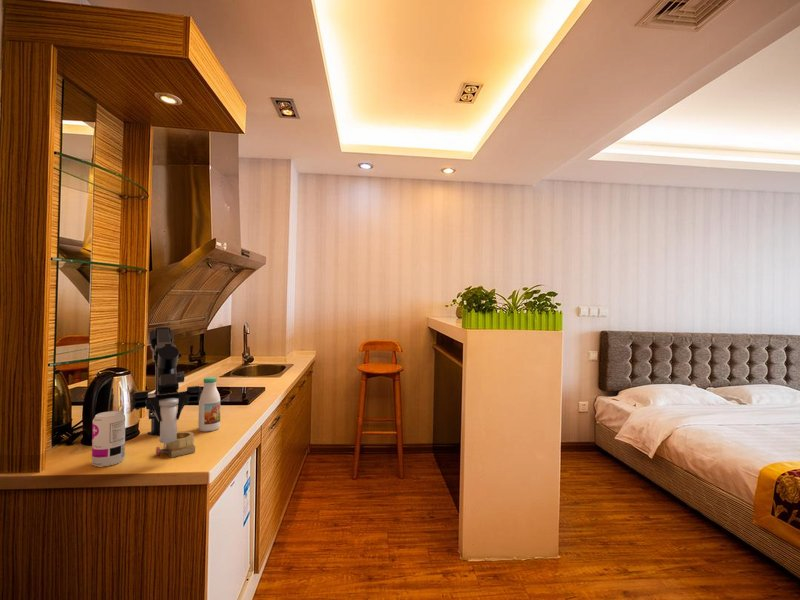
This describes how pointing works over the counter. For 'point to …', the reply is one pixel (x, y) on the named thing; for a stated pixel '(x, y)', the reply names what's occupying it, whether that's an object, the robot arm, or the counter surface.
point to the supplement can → (108, 438)
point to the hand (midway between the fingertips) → (168, 420)
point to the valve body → (179, 445)
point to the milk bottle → (209, 406)
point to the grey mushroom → (168, 420)
